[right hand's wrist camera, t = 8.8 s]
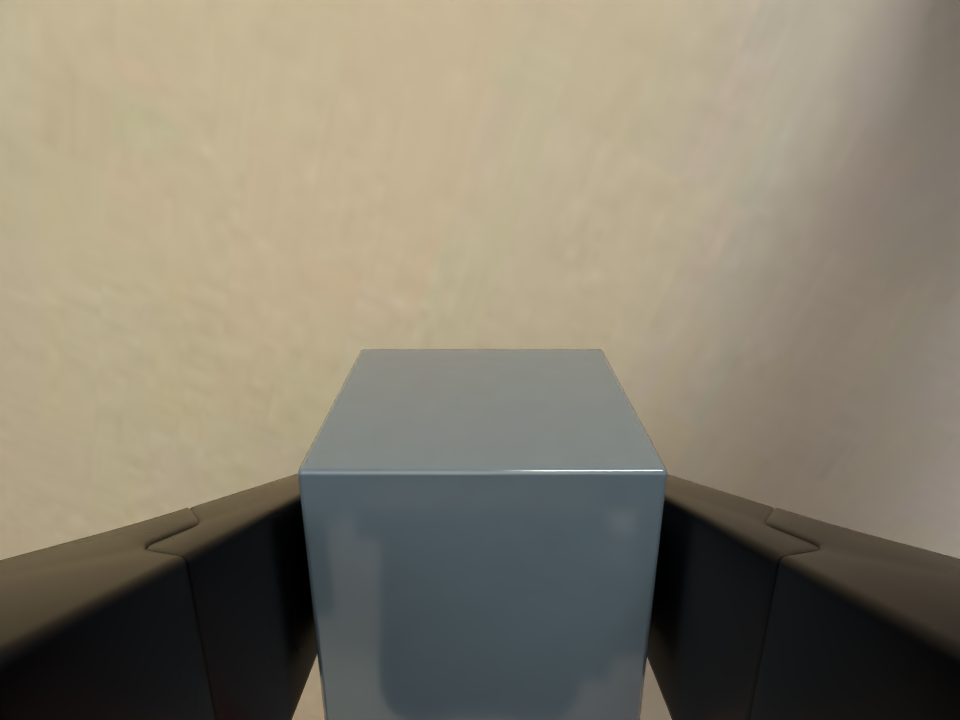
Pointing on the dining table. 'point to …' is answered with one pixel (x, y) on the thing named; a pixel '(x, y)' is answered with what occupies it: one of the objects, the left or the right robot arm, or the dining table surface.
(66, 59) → the dining table surface
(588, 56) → the dining table surface
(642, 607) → the cube
